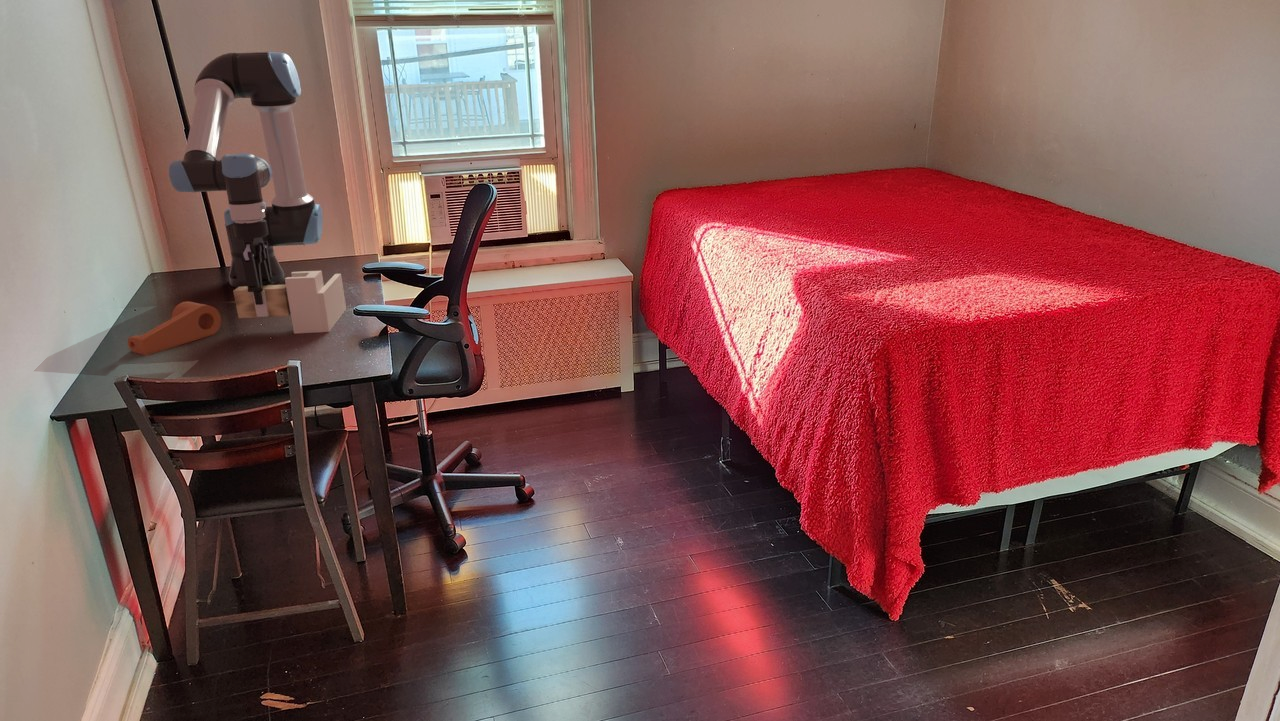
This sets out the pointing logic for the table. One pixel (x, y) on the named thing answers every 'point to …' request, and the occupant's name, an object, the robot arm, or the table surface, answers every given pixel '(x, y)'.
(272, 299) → the tan wooden block
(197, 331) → the crank
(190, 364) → the table surface
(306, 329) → the white notched block
